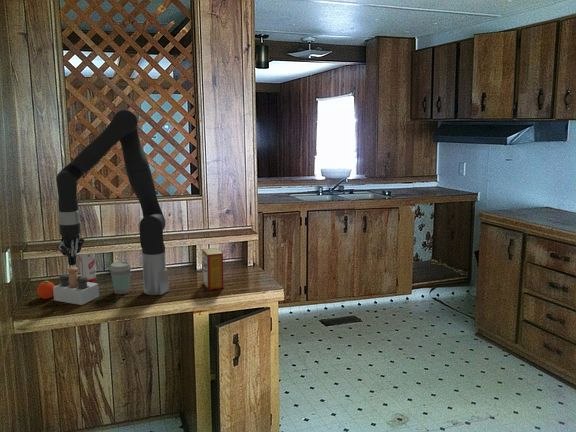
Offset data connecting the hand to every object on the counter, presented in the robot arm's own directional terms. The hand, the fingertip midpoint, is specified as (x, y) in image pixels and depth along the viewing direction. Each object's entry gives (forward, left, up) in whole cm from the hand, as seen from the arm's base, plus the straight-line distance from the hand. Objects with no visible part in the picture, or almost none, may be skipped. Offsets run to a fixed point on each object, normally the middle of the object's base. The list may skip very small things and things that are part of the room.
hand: (72, 264), depth 207 cm
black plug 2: (-4, 0, -13) cm, 14 cm away
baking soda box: (-44, -34, -15) cm, 57 cm away
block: (0, -1, -14) cm, 14 cm away
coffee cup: (-12, -14, -15) cm, 23 cm away
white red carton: (+9, -19, -15) cm, 26 cm away
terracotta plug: (0, 0, -9) cm, 9 cm away
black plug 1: (+4, 0, -13) cm, 13 cm away
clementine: (+11, +3, -15) cm, 19 cm away
